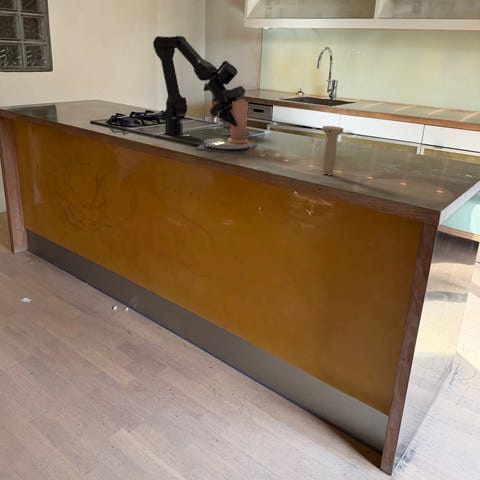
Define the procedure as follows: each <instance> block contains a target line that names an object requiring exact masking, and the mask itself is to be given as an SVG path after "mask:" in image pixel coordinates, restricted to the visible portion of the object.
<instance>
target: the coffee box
mask: <svg viewBox="0 0 480 480" xmlns="http://www.w3.org/2000/svg"><path fill="white" fill-rule="evenodd" d="M242 98H243V96H241V97H238V98H237V99H242ZM231 113H232V110H231ZM222 135H223V136H229V135H231V124H230V123H228V122H226V121H225V120H223V119H222Z"/></svg>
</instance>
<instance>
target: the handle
mask: <svg viewBox="0 0 480 480" xmlns="http://www.w3.org/2000/svg"><path fill="white" fill-rule="evenodd" d="M321 130H322V132H323V133H324V134H326V135H325V136H326V139H325V144H324V149H323V154H322V155H323V156H322V170H321V171H322V173H325V174H332V173H333V174H334V169H335V166H336V159H337V158H336V157H337V145H338V136H339V135H342V134H343V132H344V128H343V127H339V126H332V125H331V126H330V125H323V126H322V129H321ZM333 174H332V175H333Z"/></svg>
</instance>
